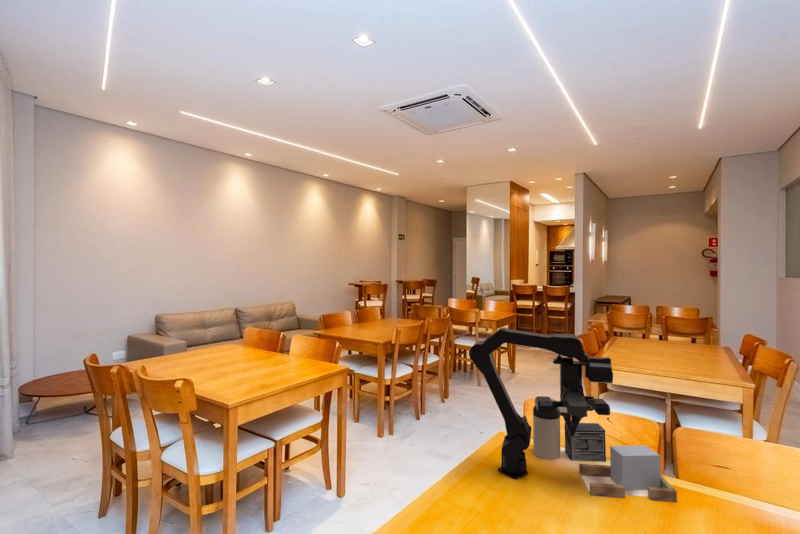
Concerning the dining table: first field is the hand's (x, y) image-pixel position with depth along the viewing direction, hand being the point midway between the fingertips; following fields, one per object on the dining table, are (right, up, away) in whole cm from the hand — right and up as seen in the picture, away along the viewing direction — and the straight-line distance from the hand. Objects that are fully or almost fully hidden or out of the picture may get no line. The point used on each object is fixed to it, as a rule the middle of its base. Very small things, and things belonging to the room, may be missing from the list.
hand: (571, 436), depth 116 cm
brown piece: (+12, -12, -5) cm, 18 cm away
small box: (+9, -13, +13) cm, 20 cm away
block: (+15, -11, -4) cm, 20 cm away
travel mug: (-2, -13, +15) cm, 19 cm away
